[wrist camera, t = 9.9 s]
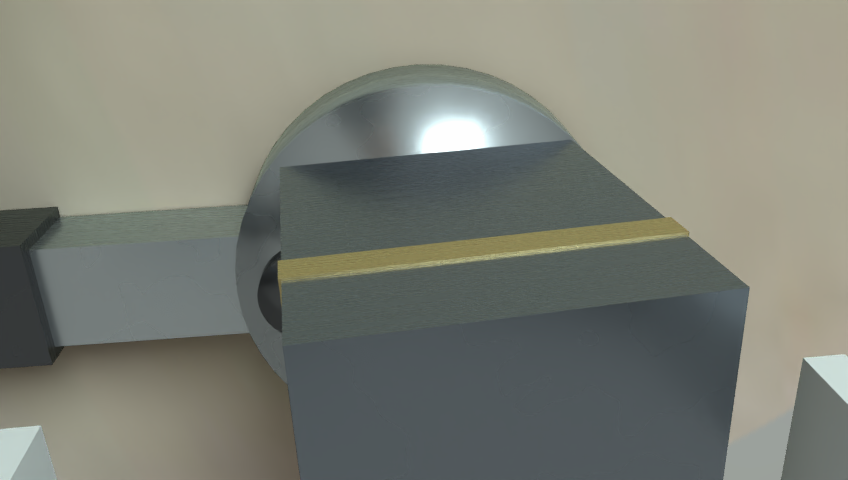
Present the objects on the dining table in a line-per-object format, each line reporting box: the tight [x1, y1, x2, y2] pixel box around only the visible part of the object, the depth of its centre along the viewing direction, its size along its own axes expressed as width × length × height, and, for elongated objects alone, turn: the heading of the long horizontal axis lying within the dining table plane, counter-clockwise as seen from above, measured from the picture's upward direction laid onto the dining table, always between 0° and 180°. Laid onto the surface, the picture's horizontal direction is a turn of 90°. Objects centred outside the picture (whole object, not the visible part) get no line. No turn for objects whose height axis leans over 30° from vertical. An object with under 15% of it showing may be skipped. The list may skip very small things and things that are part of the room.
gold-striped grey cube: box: [278, 140, 750, 480], centre depth 17 cm, size 7×7×8 cm
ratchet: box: [0, 65, 581, 385], centre depth 19 cm, size 26×10×8 cm, turn 93°
